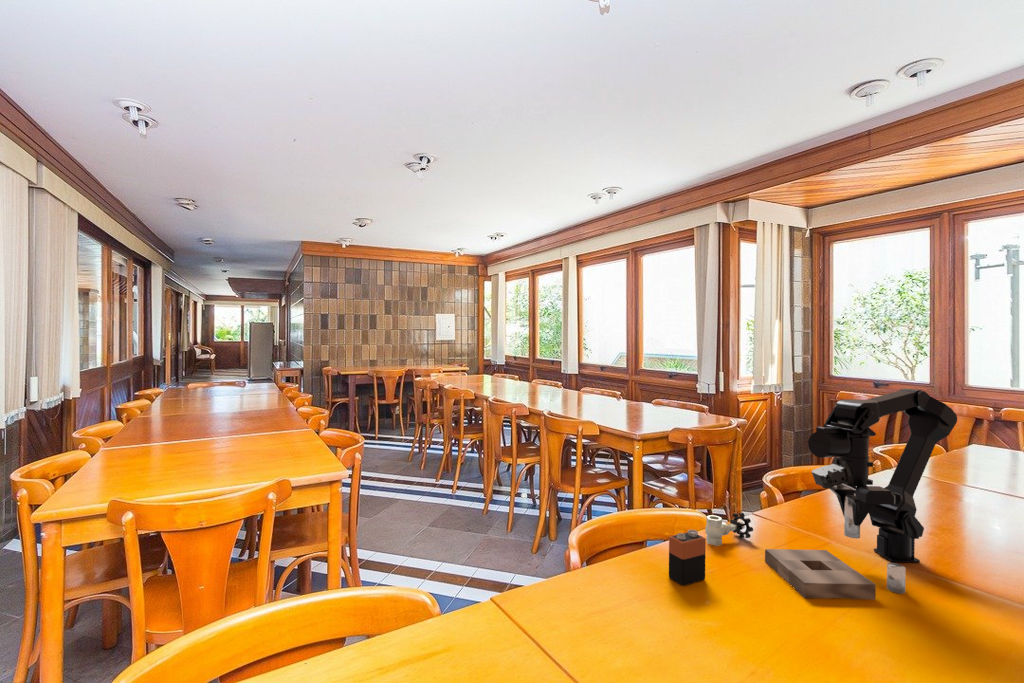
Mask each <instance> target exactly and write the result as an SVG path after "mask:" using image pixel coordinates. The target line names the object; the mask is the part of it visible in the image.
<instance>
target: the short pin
mask: <svg viewBox="0 0 1024 683" xmlns="http://www.w3.org/2000/svg"><path fill="white" fill-rule="evenodd" d="M888 589H889V590H888ZM886 590H888V591H890V592H891V593H895V594H899V595H904V594H906V567H905V566H904V565H902V564H899V563H898V562H888V563H886Z"/></svg>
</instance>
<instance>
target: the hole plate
mask: <svg viewBox="0 0 1024 683" xmlns="http://www.w3.org/2000/svg"><path fill="white" fill-rule="evenodd" d="M764 563H765V564H767V565H768V566H769V567H770V568H771V567H772V568H773V569H774V570H775V571H776V572H775V571H774V570H773V569H772V568H771V569H772V570H773V571H774V572H775V573H776V574H777V575H778V576H780V577H781V578H782V577H783V578H782V579H783V580H784V579H785V580H786V581H787V582H788V585H790V586H791V585H792V586H793V587H794V588H795V589H796V590H795V589H794V588H793V587H792V586H791V587H792V588H793V589H794V590H795V591H796V592H797V593H798V592H799V593H798V594H800V596H802V598H804V599H830V598H850V599H849V600H876V598H877V597H876V592H877V591H876V588H877V587H876V586H877V584H876V583H874V582H873V581H872V580H870V579H869V578H867V577H865V576H864V575H863V574H861V573H860V572H859V571H857V570H856V569H854V568H853V567H851V566H850V565H848V564H847V563H846V562H844V561H843V560H841V559H840V558H839V557H837V556H836V555H834V554H833V553H831V552H829V551H828V550H827V549H787V548H786V549H785V548H782V549H779V548H777V549H776V548H775V549H774V548H765V549H764ZM785 580H784V581H785ZM786 581H785V582H786ZM787 582H786V583H787Z"/></svg>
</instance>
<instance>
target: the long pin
mask: <svg viewBox="0 0 1024 683" xmlns="http://www.w3.org/2000/svg"><path fill="white" fill-rule="evenodd" d="M846 496H853V495H845V516H843V519H844V522H843V523H844V524H843V525H844V526H843V527H844V528H843V530H844V531H843V532H844V533H843V534H844V536H845V537H847V538H850V539H856V540H857V539H860V538H861V525H860V526H856V525H854V520H853V509H852V502H851V501H850V500H849V499H848V498H847V497H846Z"/></svg>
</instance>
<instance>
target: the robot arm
mask: <svg viewBox="0 0 1024 683" xmlns="http://www.w3.org/2000/svg"><path fill="white" fill-rule="evenodd" d="M900 412H903V413H904V414H905V415H906V416H907V417H908V418H907V419H908V420H907V424H908V428H909V432H910V434H909V435H910V436H909V437H908V440H907V442H906V444H905V446H904V449H903V451H902V453H901V456H900V458H899V460H898V462H897V464H896V467H895V469H894V471H893V473H892V476H891V477H890V480H889V482H888V485H887V486H885V487H883V486H879V485H874V480H872V479H870V478H869V467H870V468H874V461H870V460H869V457H870V456H869V452H870V450H869V448H870V447H869V445H870V440H869V437H875V436H877V433H876V432H875V431H874V430H873V429H871V427H872V426H873V425H876V424H878V423H879V422H880V420H881V418H882V417H885V416H889V415H892V414H896V413H900ZM957 423H958V416H957V413H956V412H955V411H954V410H953V408H952V407H950V406H948V404H946V403H945V402H942V401H940V400H939V399H936V398H934V397H933V396H931V395H930V394H928V392H926V391H924V390H922V389H915V388H914V389H913V388H901V389H899V390H898V391H894V392H890V393H887V394H883V395H878V396H875V397H871V398H868V399H852V398H851V399H849V398H848V399H840V400H838V401H837V402H836V403H835V406H834V407H833V408H832V411H831V412H830V414H829V416H828V417H827V419H826V421H825V422H824V424H823V426H816V428H815V430H816V431H815V432H813V433H812V434H811V435H810V436H809V438H808V439H807V445H808V449H809V451H810V452H811V454H812V455H813V456H815V457H816V458H819V459H820V458H821V459H824V458H833V459H832V463H831V464H828V465H824V466H821V467H818V468H815V469H812V470H811V474H812V476H813V479H814V483H815V485H817V486H820V487H822V488H823V489H826V490H827V489H828V490H830V491H832V493H833V494H835V496H836V497H837V500H838V503H839V507H840V509H841V512H842V516H843V517H844V516H845V495H853V496H846V497H847V498H848V499H849V500H850V501H851V502H852V509H853V520H854V525H856V526H860V527H861V525H862V524H863V522H864V520H865V519H866V517H867V516H868V515H869V518H870V521H871V526H873V527H877V528H878V534H877V535H876V547H875V548H873V552H875V553H877V554H878V555H879V556H882V557H884V558H885V559H887V560H889V561H890V562H891V563H920V562H921V561H920V559H919V558H917V557H915V547H916V545H915V544H916V540H919V539H920V538H921V537H923V535H924V532H925V526H923V525H922V524H921V522H920V521H919V520H918V518H917V517H916V513H917V511H918V510H917V506H916V502H915V498H914V494H915V492H916V490H917V487H918V486H919V483H920V481H921V478H922V476H923V474H924V472H925V469H926V467H927V465H928V464H929V463H928V462H929V460H930V458H931V456H932V453H933V451H934V449H935V446H936V445H937V443H938V442H940V441H942V440H943V439H945V438H947V437H948V436H950V434H951V433H952V431H953V429H954V428H955V426H956V424H957ZM873 485H874V486H873Z"/></svg>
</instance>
